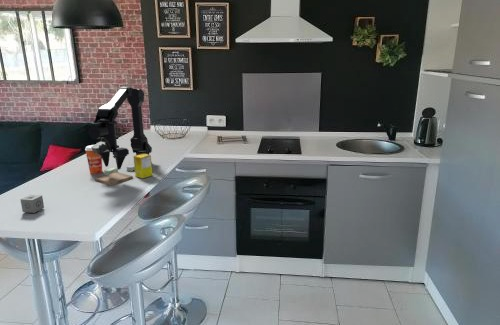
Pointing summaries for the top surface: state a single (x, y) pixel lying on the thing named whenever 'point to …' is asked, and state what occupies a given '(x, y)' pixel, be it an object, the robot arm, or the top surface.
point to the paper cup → (93, 160)
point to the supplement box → (143, 166)
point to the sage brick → (111, 171)
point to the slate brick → (131, 168)
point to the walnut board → (113, 178)
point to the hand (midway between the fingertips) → (112, 167)
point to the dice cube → (32, 203)
